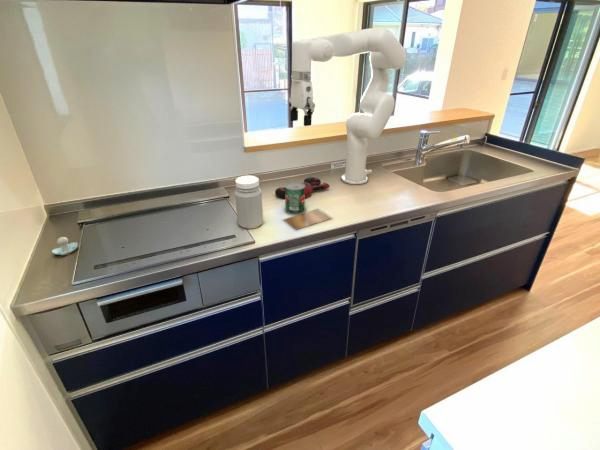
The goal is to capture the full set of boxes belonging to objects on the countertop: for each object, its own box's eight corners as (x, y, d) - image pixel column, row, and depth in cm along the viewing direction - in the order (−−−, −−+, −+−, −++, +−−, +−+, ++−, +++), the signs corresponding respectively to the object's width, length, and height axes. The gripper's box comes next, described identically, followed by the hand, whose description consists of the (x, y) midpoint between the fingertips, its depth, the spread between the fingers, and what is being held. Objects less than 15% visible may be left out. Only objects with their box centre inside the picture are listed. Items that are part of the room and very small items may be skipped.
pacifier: (51, 253, 114) (56, 260, 110) (43, 237, 111) (49, 243, 107) (75, 244, 119) (81, 250, 115) (68, 228, 116) (75, 234, 112)
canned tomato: (282, 207, 142) (282, 183, 137) (300, 204, 145) (300, 180, 139) (289, 216, 136) (288, 190, 131) (307, 213, 138) (308, 187, 133)
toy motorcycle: (272, 198, 153) (295, 205, 142) (270, 187, 151) (294, 192, 140) (312, 185, 168) (336, 190, 157) (311, 174, 166) (336, 178, 155)
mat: (317, 209, 141) (317, 209, 141) (330, 218, 134) (330, 218, 134) (283, 220, 133) (283, 219, 133) (296, 229, 127) (296, 229, 127)
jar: (234, 220, 133) (230, 176, 124) (258, 215, 137) (255, 172, 128) (241, 232, 125) (237, 186, 117) (267, 226, 129) (264, 182, 120)
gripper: (323, 78, 124) (320, 126, 133) (297, 74, 137) (297, 118, 145) (306, 79, 121) (304, 128, 129) (281, 74, 133) (281, 119, 142)
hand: (300, 123), depth 137 cm, fingers open, 9 cm apart
